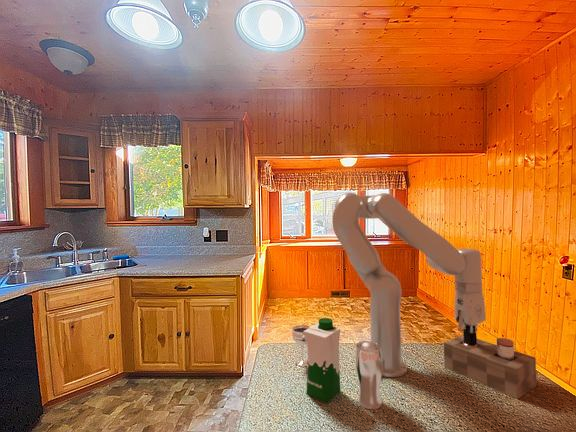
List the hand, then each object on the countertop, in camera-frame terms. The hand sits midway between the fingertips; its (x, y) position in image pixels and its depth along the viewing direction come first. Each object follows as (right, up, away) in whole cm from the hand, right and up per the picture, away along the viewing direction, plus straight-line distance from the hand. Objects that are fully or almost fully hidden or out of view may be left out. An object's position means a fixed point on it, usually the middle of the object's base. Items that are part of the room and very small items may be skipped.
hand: (470, 343), depth 93 cm
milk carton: (-49, -9, -11) cm, 51 cm away
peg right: (+5, -3, -9) cm, 11 cm away
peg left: (0, -8, 0) cm, 8 cm away
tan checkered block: (+3, -8, -4) cm, 9 cm away
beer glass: (-37, -9, -16) cm, 41 cm away
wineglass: (-54, -10, +6) cm, 55 cm away
